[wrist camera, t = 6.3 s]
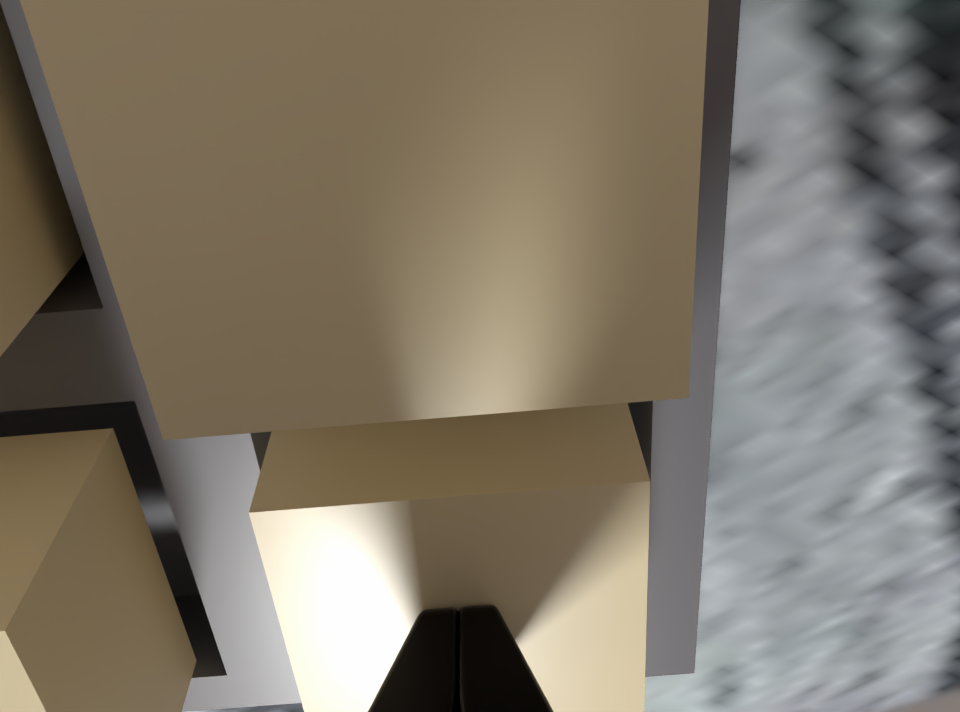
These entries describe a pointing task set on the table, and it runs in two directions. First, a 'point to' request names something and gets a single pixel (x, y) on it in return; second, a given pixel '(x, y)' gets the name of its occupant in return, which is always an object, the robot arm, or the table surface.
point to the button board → (238, 458)
